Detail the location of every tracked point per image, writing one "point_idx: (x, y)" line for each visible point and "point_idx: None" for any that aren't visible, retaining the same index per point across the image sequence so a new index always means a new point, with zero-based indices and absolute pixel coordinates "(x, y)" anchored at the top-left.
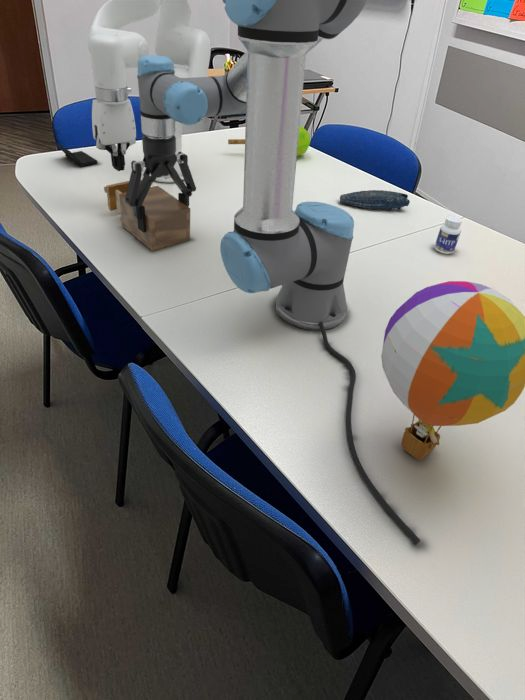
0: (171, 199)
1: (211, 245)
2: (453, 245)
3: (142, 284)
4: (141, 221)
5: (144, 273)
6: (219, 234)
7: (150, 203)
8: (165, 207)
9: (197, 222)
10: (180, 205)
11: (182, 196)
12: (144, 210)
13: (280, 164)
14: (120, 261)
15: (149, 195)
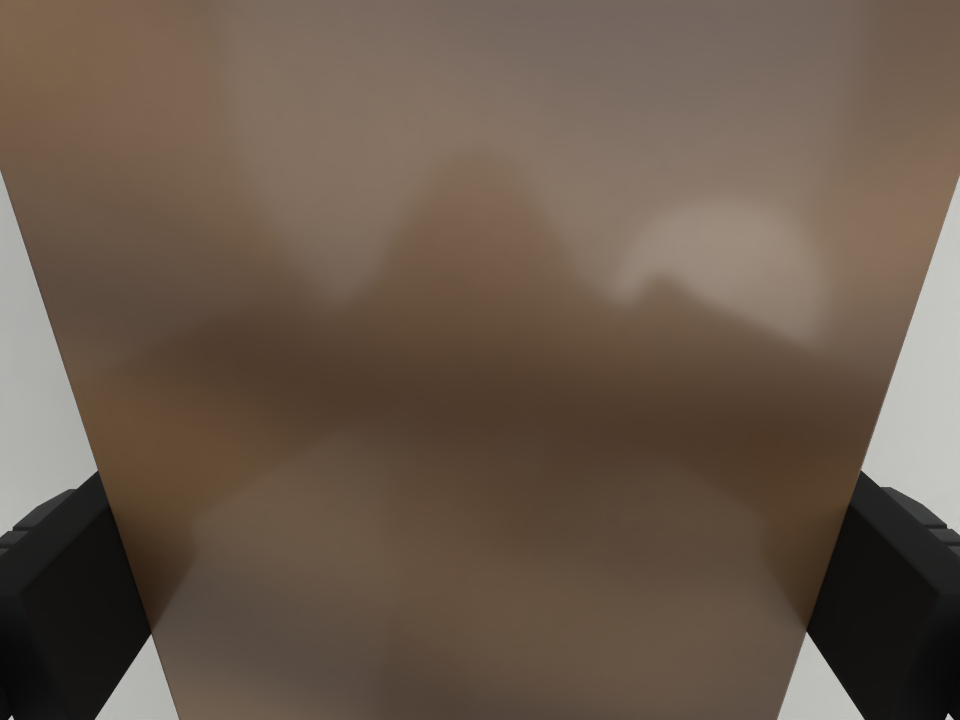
0: (774, 444)
1: None
2: None
3: (105, 713)
4: None
5: (153, 643)
6: None
7: (370, 409)
8: (508, 605)
9: (943, 235)
10: (732, 637)
11: (889, 693)
12: (109, 684)
13: None
14: (48, 469)
15: (536, 90)
